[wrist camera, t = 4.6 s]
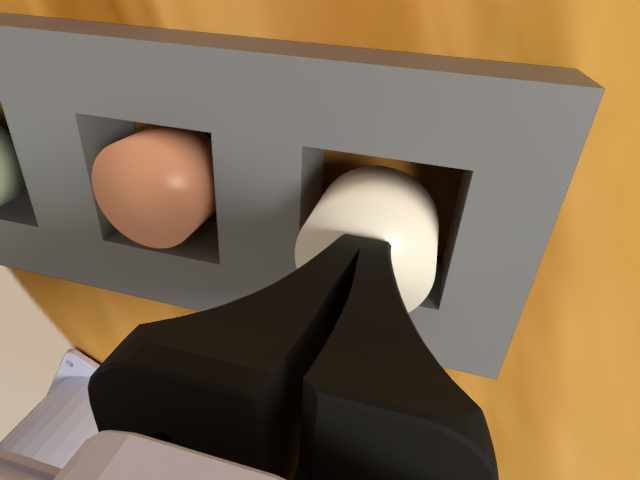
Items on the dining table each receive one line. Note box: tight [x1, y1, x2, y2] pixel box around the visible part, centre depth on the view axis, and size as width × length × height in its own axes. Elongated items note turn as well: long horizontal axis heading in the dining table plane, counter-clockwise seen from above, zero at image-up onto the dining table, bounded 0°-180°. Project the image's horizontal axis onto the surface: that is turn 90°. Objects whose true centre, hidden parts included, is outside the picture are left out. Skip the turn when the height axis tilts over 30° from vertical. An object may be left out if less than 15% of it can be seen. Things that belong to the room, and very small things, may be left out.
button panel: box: [0, 13, 605, 380], centre depth 17 cm, size 26×10×3 cm, turn 86°
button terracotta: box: [91, 125, 216, 248], centre depth 16 cm, size 4×4×3 cm
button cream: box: [295, 166, 439, 313], centre depth 14 cm, size 4×4×3 cm
